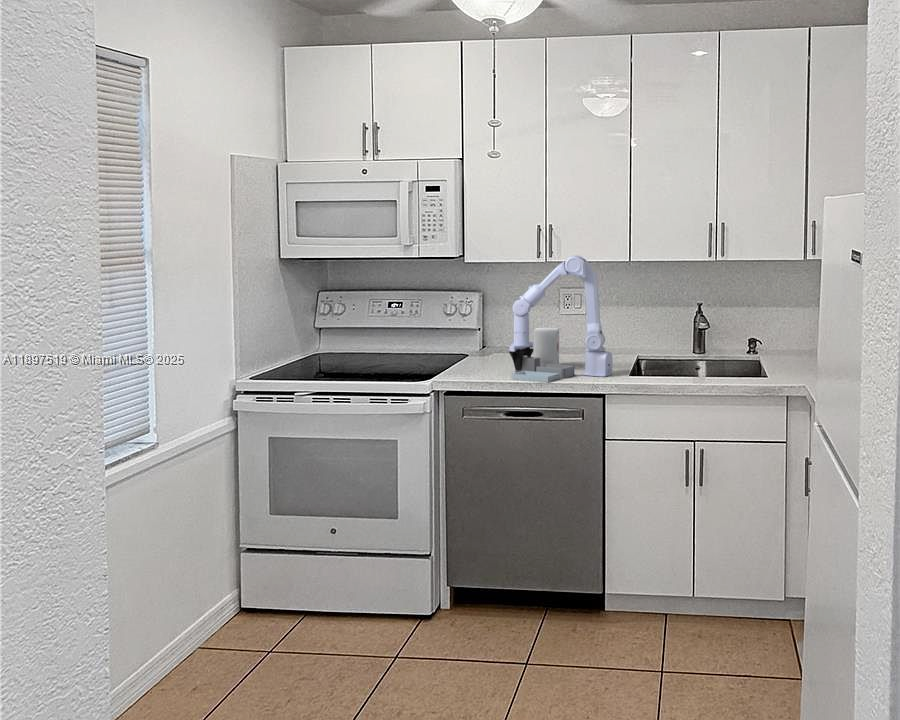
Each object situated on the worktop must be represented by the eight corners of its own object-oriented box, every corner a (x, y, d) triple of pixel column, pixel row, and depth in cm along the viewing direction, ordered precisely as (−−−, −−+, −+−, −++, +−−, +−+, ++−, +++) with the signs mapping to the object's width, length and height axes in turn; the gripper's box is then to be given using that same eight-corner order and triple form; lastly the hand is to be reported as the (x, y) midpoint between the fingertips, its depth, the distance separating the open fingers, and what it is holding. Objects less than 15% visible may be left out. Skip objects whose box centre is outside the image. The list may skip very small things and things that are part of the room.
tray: (559, 379, 409) (559, 373, 409) (547, 382, 402) (547, 376, 402) (523, 376, 417) (523, 370, 417) (511, 379, 410) (511, 373, 409)
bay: (574, 375, 418) (574, 365, 417) (563, 378, 411) (563, 368, 410) (547, 373, 423) (547, 363, 423) (536, 376, 416) (536, 366, 416)
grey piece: (557, 369, 433) (557, 330, 431) (533, 369, 434) (533, 329, 432) (559, 366, 441) (559, 327, 439) (536, 366, 443) (536, 327, 441)
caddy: (540, 373, 423) (540, 355, 422) (534, 375, 419) (534, 357, 418) (521, 372, 427) (521, 354, 426) (515, 373, 423) (515, 355, 422)
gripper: (521, 329, 431) (521, 365, 432) (502, 333, 418) (502, 370, 420) (538, 330, 427) (538, 367, 429) (519, 334, 415) (519, 371, 417)
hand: (521, 368), depth 424 cm, fingers closed on caddy, 4 cm apart
